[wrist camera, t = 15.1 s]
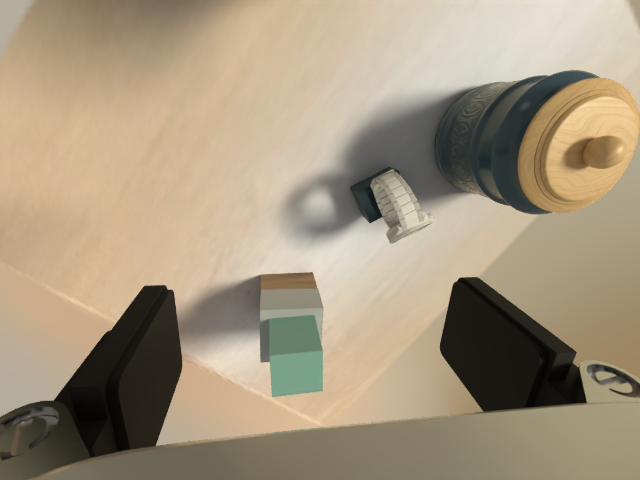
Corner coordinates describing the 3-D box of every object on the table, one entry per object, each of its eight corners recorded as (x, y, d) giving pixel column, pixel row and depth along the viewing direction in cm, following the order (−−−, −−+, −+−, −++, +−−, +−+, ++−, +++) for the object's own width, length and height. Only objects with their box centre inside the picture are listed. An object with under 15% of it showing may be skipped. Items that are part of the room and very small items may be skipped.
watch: (368, 228, 43) (399, 262, 33) (344, 174, 40) (370, 193, 30) (406, 209, 43) (449, 237, 33) (384, 153, 40) (425, 165, 29)
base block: (260, 274, 43) (260, 290, 39) (312, 272, 44) (317, 287, 40) (262, 318, 45) (262, 338, 41) (311, 315, 46) (315, 334, 42)
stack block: (269, 318, 35) (269, 355, 30) (314, 314, 36) (322, 350, 30) (271, 355, 37) (272, 396, 31) (314, 350, 38) (322, 390, 32)
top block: (260, 289, 39) (259, 310, 35) (317, 288, 40) (323, 308, 36) (261, 337, 41) (260, 362, 37) (315, 335, 42) (320, 358, 38)
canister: (545, 106, 41) (731, 97, 24) (496, 202, 44) (629, 250, 28) (460, 67, 37) (609, 26, 21) (415, 173, 41) (512, 209, 25)
